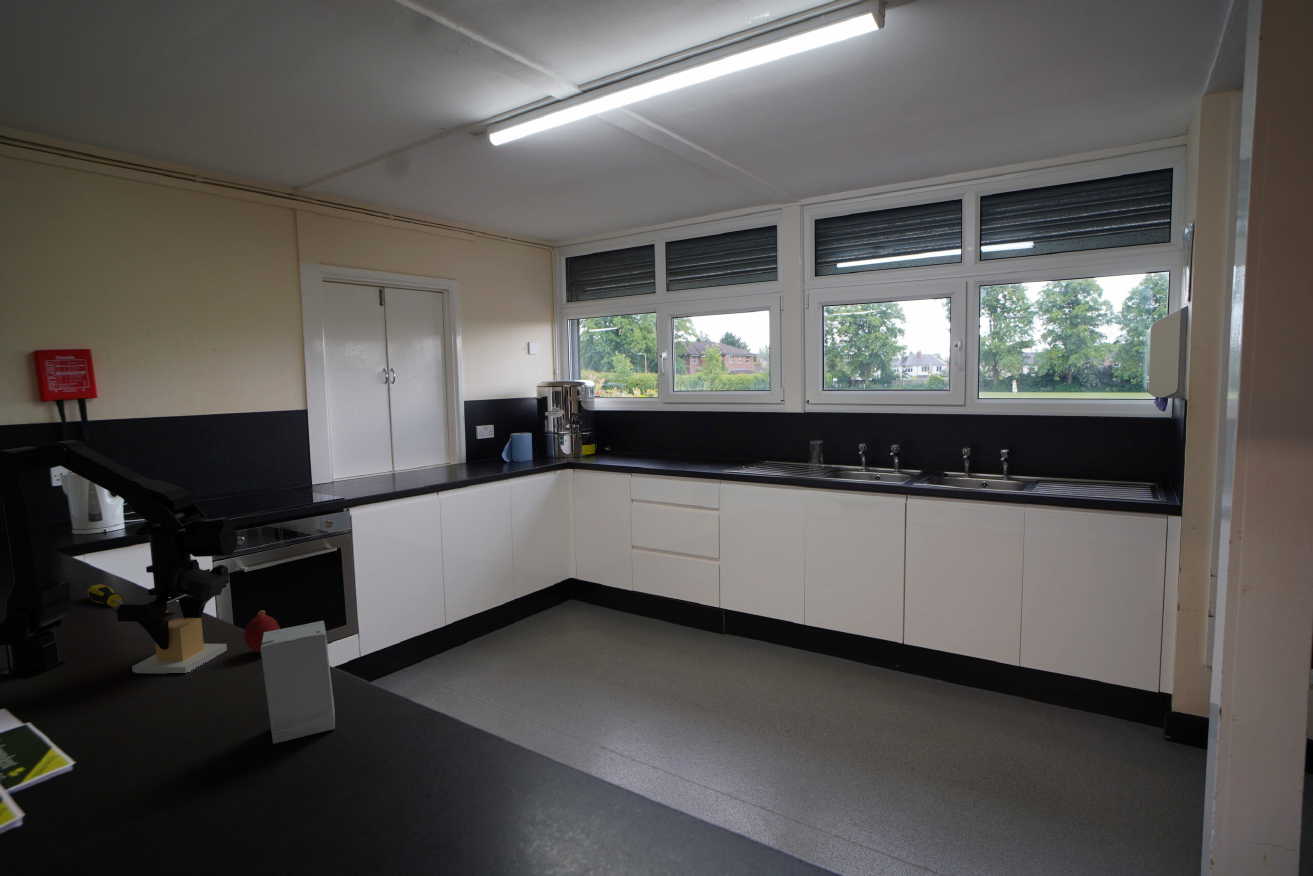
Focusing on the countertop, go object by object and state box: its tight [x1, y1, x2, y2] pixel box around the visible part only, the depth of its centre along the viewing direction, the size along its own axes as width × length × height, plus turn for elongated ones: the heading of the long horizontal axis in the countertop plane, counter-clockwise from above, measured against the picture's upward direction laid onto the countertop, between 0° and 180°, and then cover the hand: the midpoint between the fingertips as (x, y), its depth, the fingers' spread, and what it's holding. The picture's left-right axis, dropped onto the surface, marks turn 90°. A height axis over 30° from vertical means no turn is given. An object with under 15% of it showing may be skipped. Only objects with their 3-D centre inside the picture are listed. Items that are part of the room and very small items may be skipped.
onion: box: [243, 610, 281, 653], centre depth 126 cm, size 6×6×8 cm
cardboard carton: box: [154, 617, 205, 661], centre depth 123 cm, size 5×5×6 cm
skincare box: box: [260, 620, 336, 745], centre depth 98 cm, size 8×6×15 cm
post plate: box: [131, 643, 228, 674], centre depth 123 cm, size 10×10×6 cm
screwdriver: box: [87, 583, 124, 608], centre depth 153 cm, size 3×3×30 cm
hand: (179, 641), depth 123 cm, fingers open, 6 cm apart
